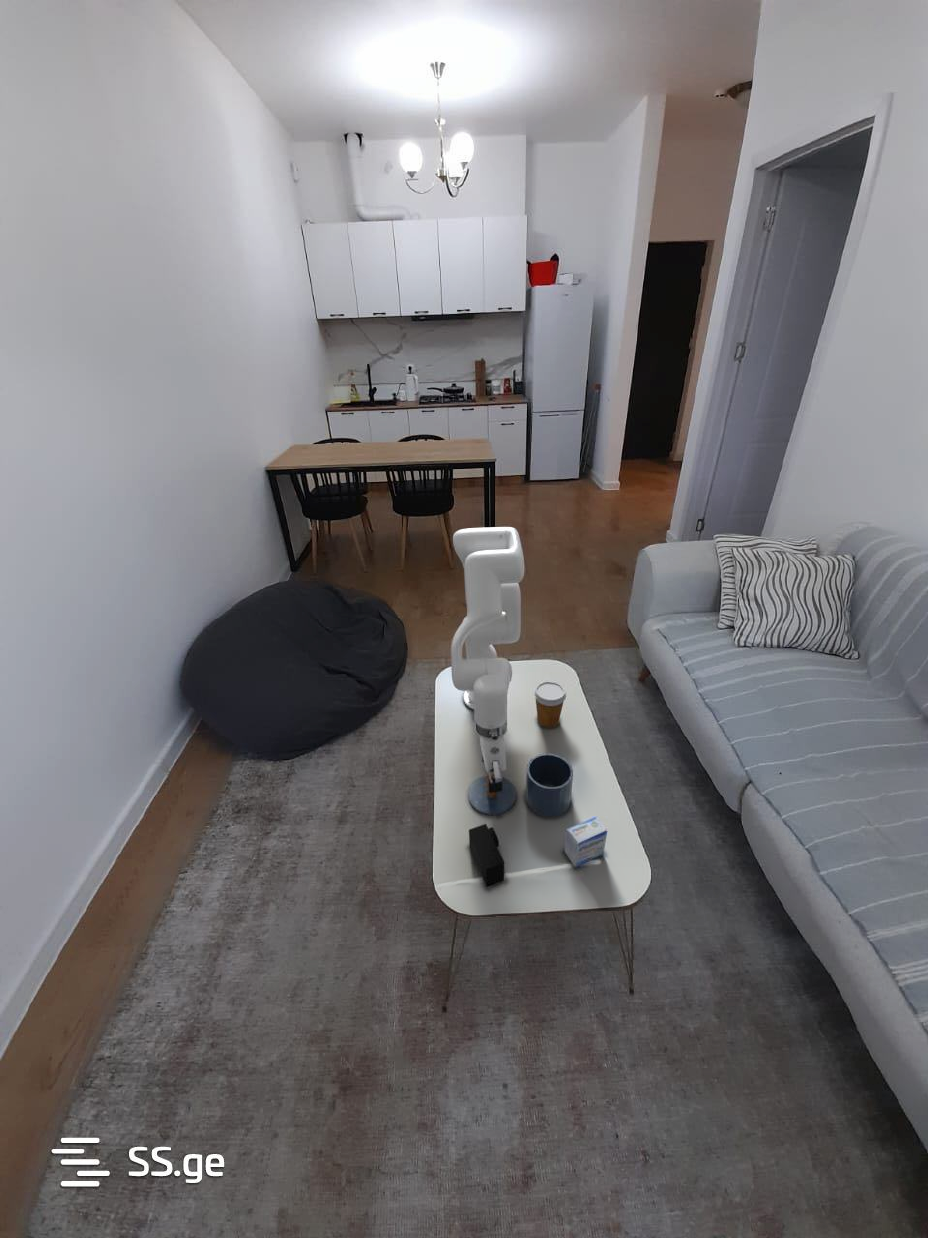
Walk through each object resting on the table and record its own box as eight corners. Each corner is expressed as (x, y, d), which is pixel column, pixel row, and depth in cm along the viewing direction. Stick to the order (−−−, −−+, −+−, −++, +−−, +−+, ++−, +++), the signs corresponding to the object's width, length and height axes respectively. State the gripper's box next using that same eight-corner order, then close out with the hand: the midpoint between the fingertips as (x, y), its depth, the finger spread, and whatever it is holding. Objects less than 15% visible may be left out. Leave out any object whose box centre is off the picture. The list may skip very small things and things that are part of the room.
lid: (465, 781, 133) (464, 762, 130) (510, 775, 134) (510, 756, 131) (472, 820, 123) (471, 801, 119) (520, 813, 124) (521, 794, 120)
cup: (521, 784, 132) (522, 756, 126) (562, 779, 133) (565, 751, 127) (531, 820, 122) (533, 792, 117) (576, 814, 123) (579, 785, 118)
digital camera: (509, 879, 110) (509, 860, 106) (486, 888, 108) (486, 869, 104) (491, 840, 118) (490, 821, 114) (469, 848, 116) (468, 829, 113)
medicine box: (575, 868, 111) (578, 844, 107) (563, 852, 115) (566, 828, 110) (604, 854, 114) (608, 831, 109) (592, 839, 117) (595, 815, 113)
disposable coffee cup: (563, 733, 147) (566, 702, 141) (531, 730, 149) (532, 699, 143) (564, 712, 155) (567, 681, 149) (533, 709, 157) (535, 679, 151)
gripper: (514, 748, 108) (514, 801, 117) (499, 698, 123) (500, 749, 132) (480, 753, 108) (482, 806, 116) (469, 702, 123) (472, 752, 131)
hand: (491, 775), depth 124 cm, fingers open, 9 cm apart
